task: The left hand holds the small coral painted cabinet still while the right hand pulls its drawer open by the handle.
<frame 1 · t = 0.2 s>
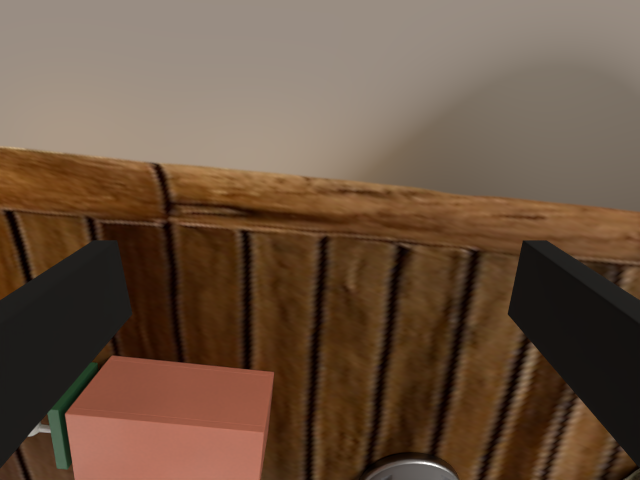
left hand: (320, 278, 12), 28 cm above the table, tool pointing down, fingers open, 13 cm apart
cabinet: (193, 394, 50), on the table
drawer: (132, 418, 45), point 5 cm above the table, slide at 1.3 cm
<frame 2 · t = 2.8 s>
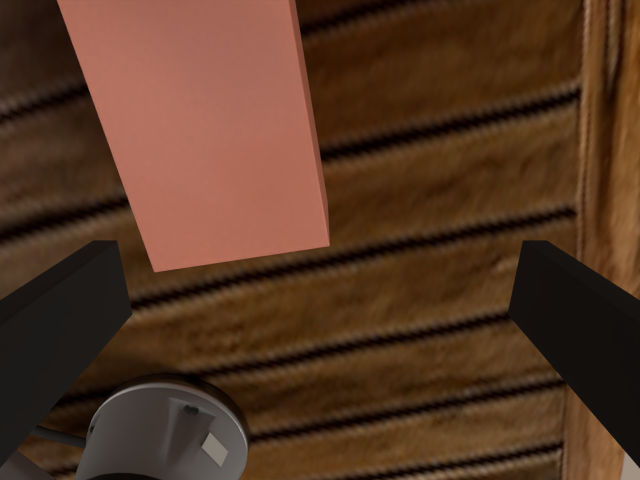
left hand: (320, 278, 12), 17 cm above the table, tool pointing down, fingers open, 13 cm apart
cabinet: (232, 70, 26), on the table
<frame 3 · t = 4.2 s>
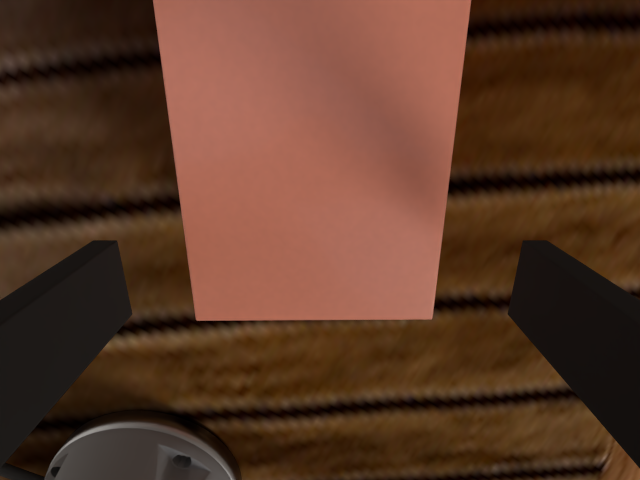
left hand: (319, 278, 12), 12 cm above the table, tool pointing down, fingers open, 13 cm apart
cabinet: (314, 70, 21), on the table
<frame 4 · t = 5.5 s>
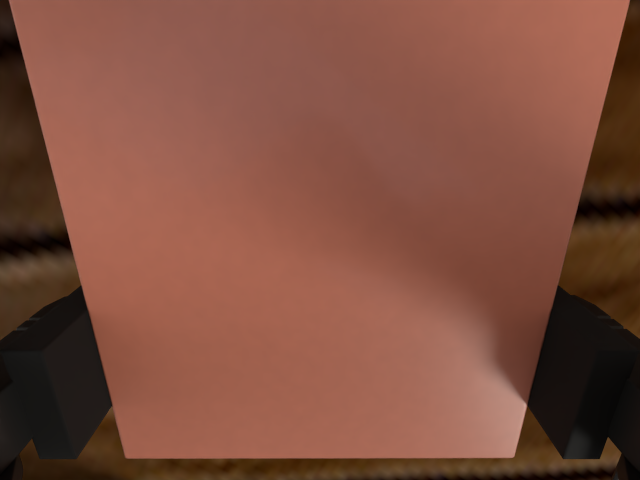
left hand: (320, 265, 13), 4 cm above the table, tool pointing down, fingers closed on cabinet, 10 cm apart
cabinet: (319, 53, 15), on the table, touching left hand
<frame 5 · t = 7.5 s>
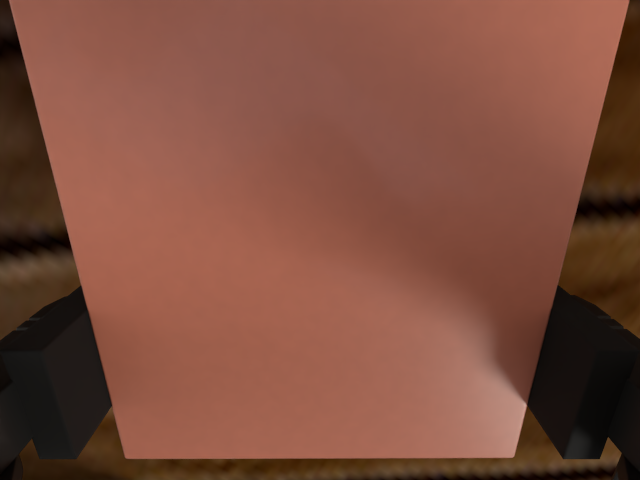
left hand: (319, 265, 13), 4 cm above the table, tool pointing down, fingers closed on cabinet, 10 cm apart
cabinet: (319, 54, 15), on the table, touching left hand
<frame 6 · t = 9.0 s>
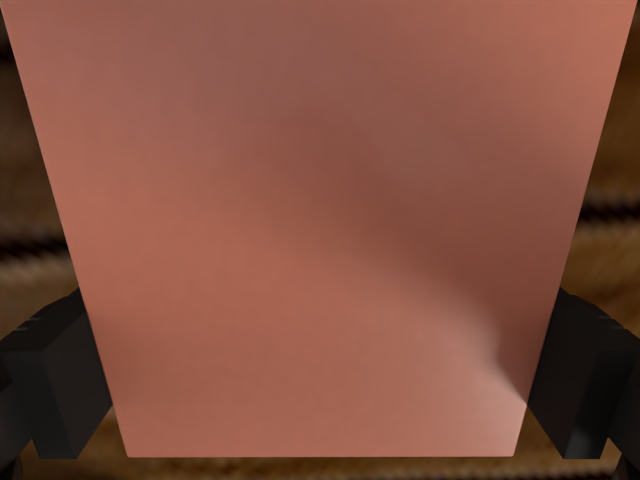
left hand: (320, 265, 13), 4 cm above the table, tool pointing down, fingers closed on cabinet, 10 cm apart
cabinet: (319, 47, 14), on the table, touching left hand
when the left hand's fingers open (4 cm above the table, at t = 10.0 s): cabinet stays where it is, on the table.
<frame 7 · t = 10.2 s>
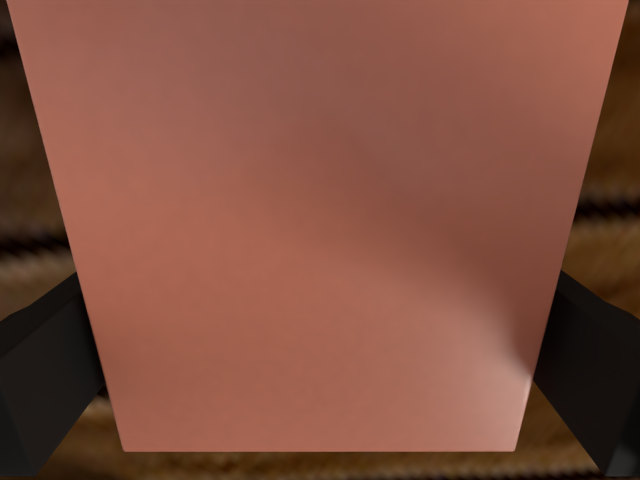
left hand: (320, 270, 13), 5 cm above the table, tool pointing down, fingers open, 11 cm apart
cabinet: (319, 46, 15), on the table
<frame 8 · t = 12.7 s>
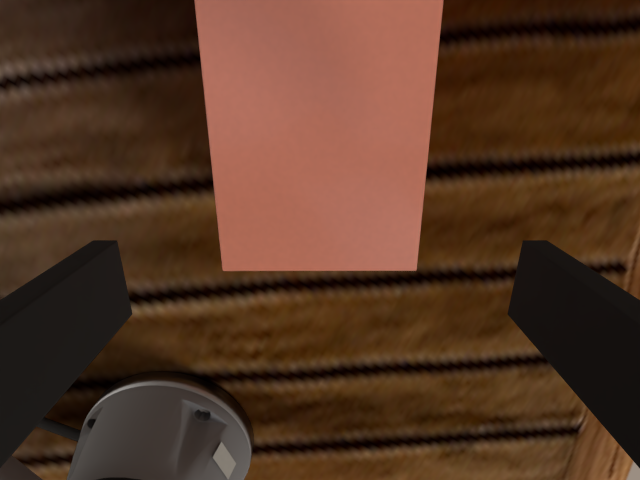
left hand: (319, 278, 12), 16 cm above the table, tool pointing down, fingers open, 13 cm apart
cabinet: (319, 66, 25), on the table
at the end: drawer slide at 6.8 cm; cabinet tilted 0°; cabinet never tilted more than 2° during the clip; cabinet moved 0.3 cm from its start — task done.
